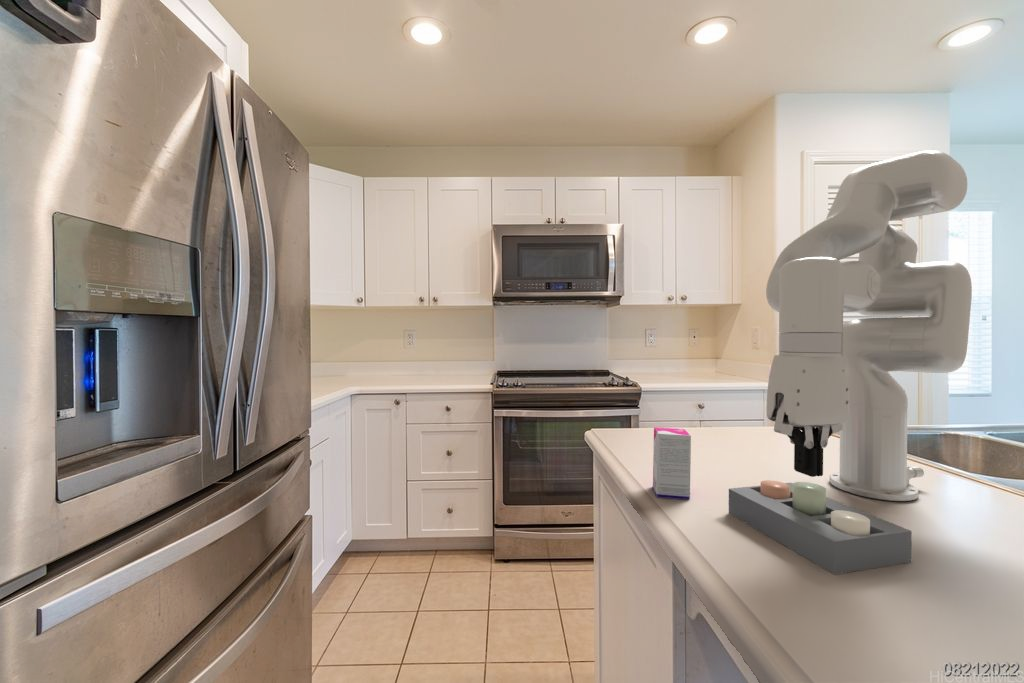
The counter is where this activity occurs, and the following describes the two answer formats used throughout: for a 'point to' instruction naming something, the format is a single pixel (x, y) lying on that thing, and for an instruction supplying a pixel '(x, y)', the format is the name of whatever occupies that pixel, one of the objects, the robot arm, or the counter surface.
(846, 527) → the cream button
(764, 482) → the terracotta button
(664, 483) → the supplement box
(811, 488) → the sage button
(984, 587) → the counter surface
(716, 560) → the counter surface
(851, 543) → the tray
